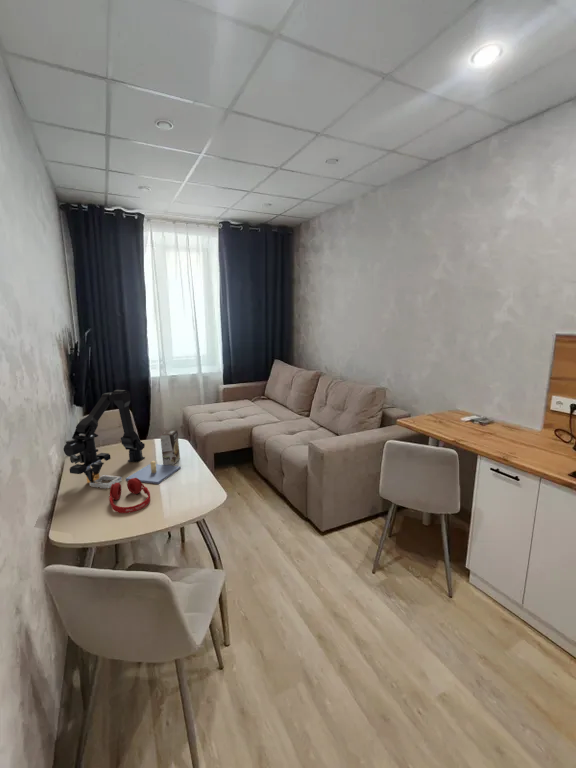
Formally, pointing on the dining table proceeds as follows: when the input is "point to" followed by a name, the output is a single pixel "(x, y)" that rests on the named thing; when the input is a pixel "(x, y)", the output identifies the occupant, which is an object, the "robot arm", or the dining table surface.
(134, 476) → the keeper
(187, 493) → the dining table surface
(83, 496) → the dining table surface
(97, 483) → the grey frame with tab
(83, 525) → the dining table surface
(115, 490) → the headphones
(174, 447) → the coffee box
